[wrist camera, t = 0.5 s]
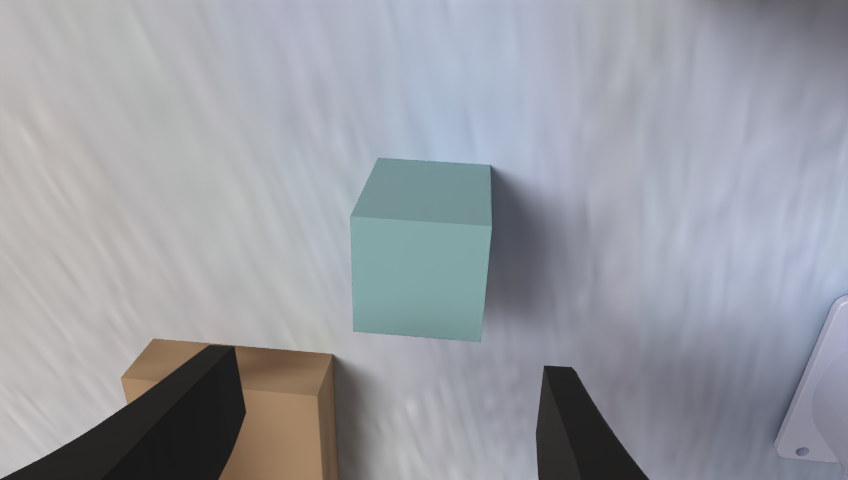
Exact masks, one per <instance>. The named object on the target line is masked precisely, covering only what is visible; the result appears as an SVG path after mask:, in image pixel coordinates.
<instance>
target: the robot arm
mask: <svg viewBox="0 0 848 480" xmlns="http://www.w3.org/2000/svg"><path fill="white" fill-rule="evenodd" d="M245 415H246V408H245V402H244V397H243V391H242V385H241V380H240V374H239V369H238V363H237V358H236V352H235V346H222V345H209V346H207V347H206V348H204V349H203V350H201V351H200V352H199V353H197V354H196V355H194V356H193V357H192V358H190V359H189V360H188V361H186V362H185V363H184V364H183V365H181V366H180V367H179V368H177V369H176V370H175V371H173V372H172V373H171V374H169V375H168V376H167V377H165V378H164V379H163V380H161V381H160V382H159V383H157V384H156V385H154V386H153V387H152V388H150V389H149V390H148V391H146V392H145V393H144V394H142V395H141V396H140V397H138V398H137V399H135V400H134V401H132V402H131V403H130V404H128V405H127V406H125V407H124V408H122V409H121V410H119V411H118V412H116V413H115V414H113V415H112V416H110V417H109V418H107V419H106V420H105V421H103V422H102V423H100V424H99V425H97V426H96V427H94V428H92V429H91V430H89V431H88V432H86V433H84V434H83V435H81V436H80V437H78V438H76V439H75V440H73V441H71V442H70V443H68V444H66V445H64V446H63V447H61V448H59V449H57V450H56V451H54V452H52V453H50V454H49V455H47V456H45V457H43V458H41V459H39V460H37V461H35V462H33V463H31V464H30V465H28V466H26V467H24V468H22V469H20V470H18V471H16V472H14V473H12V474H10V475H8V476H6V477H4V478H2V479H0V480H219V478H220V476H221V474H222V472H223V470H224V468H225V466H226V464H227V462H228V460H229V458H230V456H231V454H232V451H233V449H234V446H235V443H236V441H237V438H238V435H239V432H240V430H241V427H242V424H243V421H244V418H245ZM536 443H537V462H538V477H539V480H649V479H648V478H647V476H646V475H645V474H644V473H643V472H642V470H641V469H640V468H639V466H638V465H637V464H636V463H635V461H634V460H633V459H632V458H631V456H630V455H629V454H628V452H627V451H626V450H625V448H624V447H623V446H622V444H621V443H620V441H619V440H618V439H617V437H616V436H615V434H614V433H613V431H612V430H611V428H610V427H609V426H608V424H607V423H606V421H605V420H604V418H603V417H602V415H601V414H600V412H599V410H598V409H597V407H596V406H595V404H594V402H593V401H592V399H591V398H590V396H589V394H588V393H587V391H586V389H585V387H584V386H583V384H582V382H581V380H580V378H579V377H578V375H577V373H576V371H575V370H574V369H573V368H572V367H558V366H544V372H543V380H542V388H541V396H540V405H539V413H538V421H537V429H536ZM801 447H802V448H801ZM774 448H775V450H776V452H777V453H778V455H779V456H781V457H783V458H790V459H800V460H811V461H822V462H833V463H840V464H841V465H842V467H843V468H844V470H845V471H846V473H847V474H848V295H845V296H842V297H840V298H838V299H837V300H836V301H835V302H834V304H833V305H832V307H831V310H830V312H829V314H828V317H827V319H826V321H825V324H824V326H823V329H822V331H821V333H820V336H819V338H818V340H817V343H816V345H815V348H814V350H813V352H812V355H811V357H810V359H809V362H808V364H807V366H806V369H805V371H804V374H803V376H802V378H801V381H800V383H799V385H798V388H797V390H796V393H795V395H794V397H793V400H792V402H791V404H790V407H789V409H788V411H787V414H786V416H785V419H784V421H783V423H782V426H781V428H780V430H779V433H778V435H777V438H776V440H775V442H774ZM798 448H800V449H798Z"/></svg>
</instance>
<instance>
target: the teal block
mask: <svg viewBox="0 0 848 480" xmlns="http://www.w3.org/2000/svg"><path fill="white" fill-rule="evenodd" d="M350 222H351V260H352V297H353V332H365V333H378V334H390V335H402V336H414V337H426V338H438V339H450V340H462V341H474V342H481V334H482V324H483V314H484V303H485V293H486V283H487V273H488V262H489V252H490V242H491V231H492V209H491V174H490V165H481V164H466V163H450V162H434V161H418V160H403V159H387V158H378V160H377V162H376V164H375V166H374V168H373V170H372V172H371V174H370V176H369V178H368V180H367V183H366V185H365V187H364V189H363V191H362V193H361V195H360V197H359V199H358V201H357V204H356V206H355V208H354V210H353V212H352V214H351V216H350Z"/></svg>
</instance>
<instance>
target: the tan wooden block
mask: <svg viewBox="0 0 848 480" xmlns="http://www.w3.org/2000/svg"><path fill="white" fill-rule="evenodd" d="M209 345H221V344H210V343H198V342H186V341H175V340H163V339H153V340H152V341H151V342H150V344H149V345H148V346H147V347H146V348H145V350H144V351H143V352H142V353H141V354H140V356H139V357H138V358H137V359H136V360H135V362H134V363H133V364H132V365H131V366H130V368H129V369H128V370H127V371H126V372H125V374H124V375H123V376H122V377H121V380H122V384H123V388H124V392H125V396H126V400H127V404H130V403H131V402H132V401H134V400H135V399H137V398H138V397H140V396H141V395H142V394H144V393H145V392H146V391H148V390H149V389H150V388H152V387H153V386H154V385H156V384H157V383H159V382H160V381H161V380H163V379H164V378H165V377H167V376H168V375H169V374H171V373H172V372H173V371H175V370H176V369H177V368H179V367H180V366H181V365H183V364H184V363H185V362H186V361H188V360H189V359H190V358H192V357H193V356H194V355H196V354H197V353H199V352H200V351H201V350H203V349H204V348H206V347H207V346H209ZM222 346H233V345H222ZM235 352H236V358H237V363H238V369H239V374H240V380H241V385H242V391H243V397H244V402H245V408H246V415H245V418H244V421H243V424H242V427H241V430H240V432H239V435H238V438H237V441H236V443H235V446H234V449H233V451H232V454H231V456H230V458H229V460H228V462H227V464H226V466H225V468H224V470H223V472H222V474H221V476H220V478H219V480H339V479H338V457H337V436H336V414H335V393H334V371H333V354H325V353H314V352H302V351H291V350H279V349H268V348H256V347H244V346H235Z"/></svg>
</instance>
